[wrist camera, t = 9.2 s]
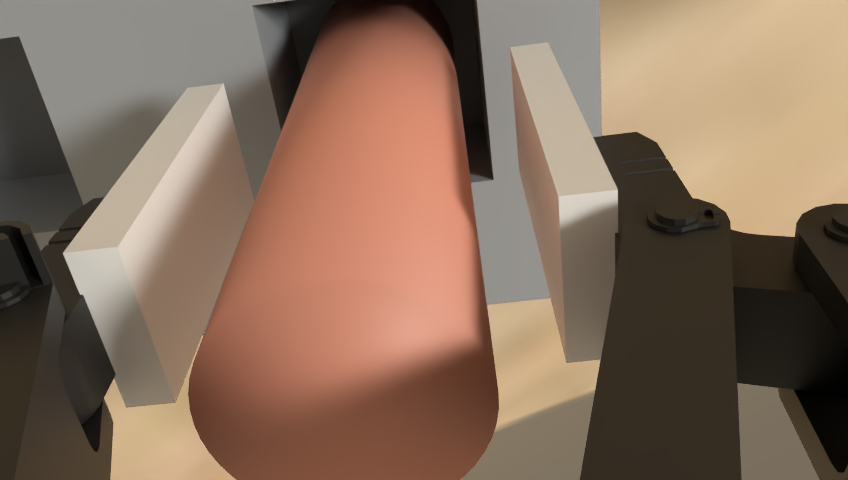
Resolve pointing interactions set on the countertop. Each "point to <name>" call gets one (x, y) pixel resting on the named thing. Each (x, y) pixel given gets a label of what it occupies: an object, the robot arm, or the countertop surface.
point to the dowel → (357, 274)
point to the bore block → (256, 99)
